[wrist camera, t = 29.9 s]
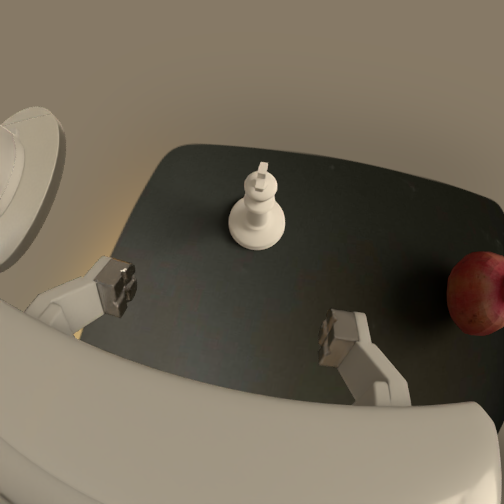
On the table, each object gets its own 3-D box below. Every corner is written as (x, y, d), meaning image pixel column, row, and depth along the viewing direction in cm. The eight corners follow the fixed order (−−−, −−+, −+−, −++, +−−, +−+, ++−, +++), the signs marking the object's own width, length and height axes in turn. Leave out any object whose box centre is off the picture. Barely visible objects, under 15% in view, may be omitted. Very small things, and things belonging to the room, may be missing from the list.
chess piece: (288, 201, 25) (311, 142, 15) (279, 255, 24) (300, 221, 14) (234, 191, 25) (228, 127, 15) (223, 244, 24) (207, 204, 14)
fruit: (426, 334, 23) (497, 340, 13) (430, 254, 24) (498, 230, 15) (475, 332, 23) (540, 334, 13) (478, 262, 24) (540, 245, 14)
